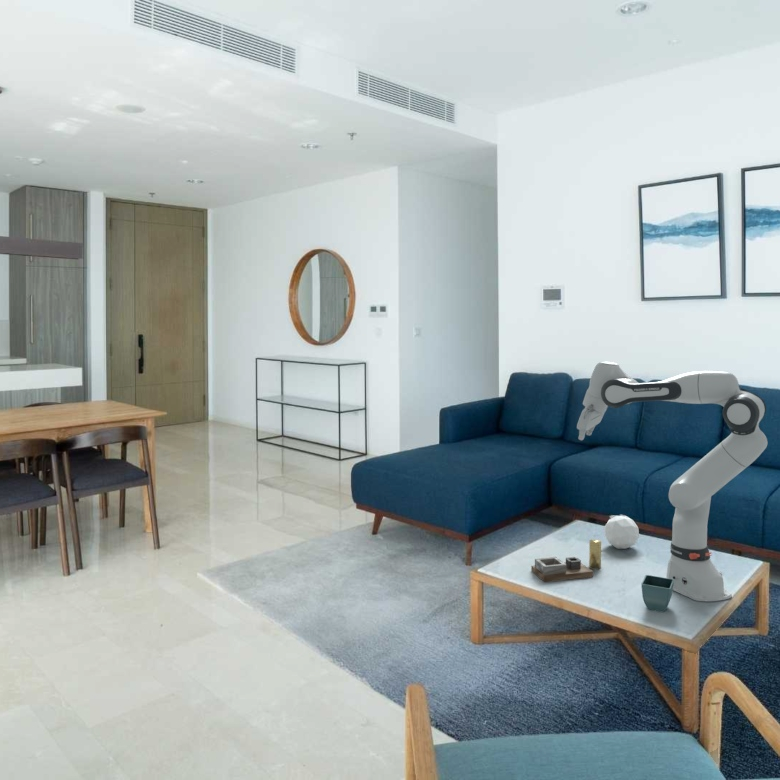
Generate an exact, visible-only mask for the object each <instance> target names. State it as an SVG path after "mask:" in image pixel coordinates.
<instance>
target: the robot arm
mask: <svg viewBox="0 0 780 780" xmlns="http://www.w3.org/2000/svg"><path fill="white" fill-rule="evenodd" d="M589 379H590V380H589V386H588V388H587V389H586V391H585V395H584V398H583V401H582V405H583V406H584V408H583V409H582V411H581V413H580V416H579V417H578V418H579V419H578V421H577V423H576V429H577V430H578V437H577V438H578V440H579V441H583V440H584V439H585V437H586V436H589V437H590V436H592V433H593V431H594V430H595V427H596V426H597V425H598V424H600V423H601V421H602V419H603V417H604V415H605V413H606V411H607V409H608V408H611V409H612V408H613V409H619V408H622V407H623V406H626V405H629V404H631V403H637V402H639V403H640V402H654V401H663V402H672V403H680V404H681V403H683V404H692V405H705V404H707V405H708V404H712V405H713V404H714V405H719V406H721V407H723V409H722V417H723V419H724V422H725V423H726V425H727V426H728V428H729V430H730V432H731V433H729V435H728V436H727V437H726V438H724V439H723V440H722V441H721V442H719V443H718V444H717V445H716V446H714V448H712V449H711V450H710V451H709V452H708V453H706V455H704V456H703V457H702V458H701V459H699V460H698V461H697V462H695V463H694V464H693V465H692V466H691V467H690V468H689V469H687V470H686V471H685V472H684V473H683V474H681V475H680V476H679V477H677V478H676V479H675V480H674V481H673V482H672V484H671V485H670V487H669V491H668V500H669V502H670V504H671V505H672V506H673V507H674V508H675V509H674V515H673V518H672V533H671V534H672V535H671V537H672V539H671V542H670V546H669V547H670V548H669V549H670V553H671V555H670V559H669V560H668V563H667V570H666V577H665V578H669V579H674V584H673V591H674V592H676V593H679V594H681V595H682V596H685V597H687V598H690V599H691V600H693V601H696V602H719V601H725V600H728V599H730V598H732V593H731V592H730V591H729V590H728V589H726V588H725V585H724V577H723V573H722V572H721V571H719V570H718V569H717V567H716V566H715V564H714V563H713V561H712V560H711V556H713V553H712V552H710V549H709V546H708V545H707V544H708V541H707V540H708V524H709V522H708V521H709V515H710V508H711V503H712V502H711V500H712V496H714V495H715V494H716V493H718V492H719V491H720V490H721V489H722V488H723V487H725V486H726V485H727V484H728V483H729V482H730V481H732V480H733V479H734V478H735V477H737V476H738V475H739V474H740V473H741V472H743V471H744V470H745V469H747V468H748V467H749V466H750V465H751V464H753V463H754V462H755V461H756V460H757V459H758V458H759V457H760V456H761V454H762V453H764V451H765V450H766V449H767V446H768V438H767V436H766V435H765V433H764V431H762V430H761V429H760V427H759V426H760V422H761V421H762V420H763V419H764V417H765V415H766V412H767V407H766V405H767V404H766V403H765V401H764V400H763V398H762V397H760V395H757V394H756V393H753V392H752V391H749V390H747V389H745V388H741V387H740V386H739V381H738V378H737V377H736V375H734V374H733V373H732V372H728V371H727V372H726V371H718V370H717V371H716V370H701V371H699V370H698V371H691V372H690V371H689V372H686V373H681V374H678V375H676V376H673V377H669V378H667V379H664V380H660V381H653V382H638V380H637V379H635V378H633V377H632V376H630V375H628V374H627V373H626V372H624V370H623V369H622V368H621V367H620V364H618V362H617V363H616V362H613V361H600V362H598V363H596V365H595V367H594V368H593V371H592V373H591V376H590V378H589Z"/></svg>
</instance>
